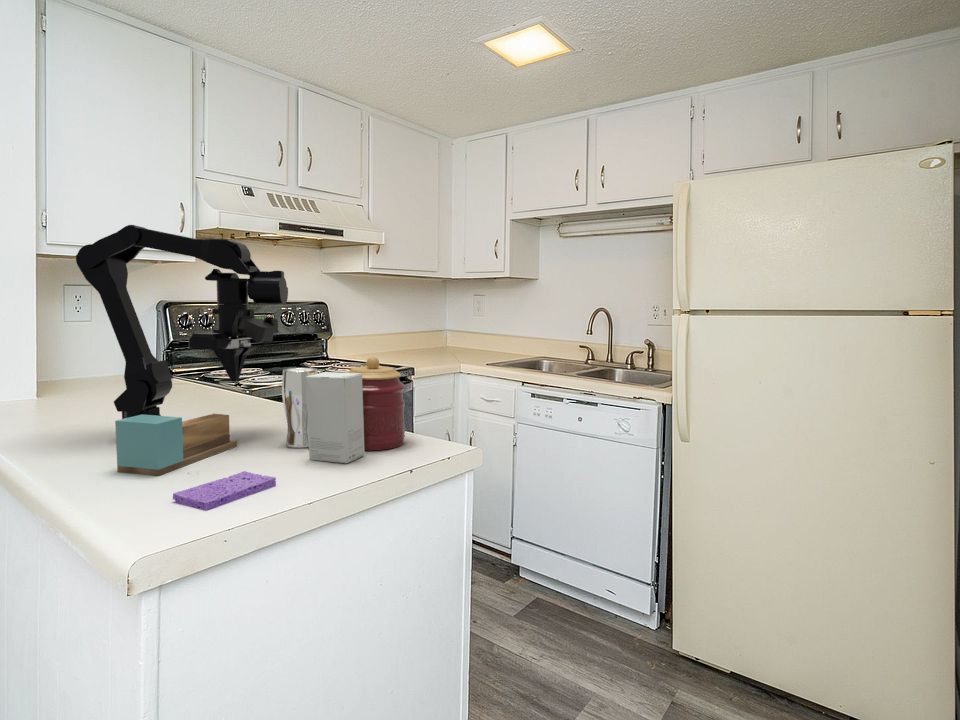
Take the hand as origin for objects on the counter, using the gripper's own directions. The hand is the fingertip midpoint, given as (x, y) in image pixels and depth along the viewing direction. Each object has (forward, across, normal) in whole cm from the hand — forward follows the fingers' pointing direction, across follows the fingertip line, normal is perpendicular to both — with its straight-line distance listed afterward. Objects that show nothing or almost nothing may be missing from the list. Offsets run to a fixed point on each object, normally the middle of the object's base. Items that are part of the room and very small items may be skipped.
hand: (234, 381), depth 117 cm
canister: (+12, +6, -28) cm, 31 cm away
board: (+12, -15, 0) cm, 19 cm away
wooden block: (+11, -12, 0) cm, 16 cm away
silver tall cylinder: (+12, 0, -15) cm, 19 cm away
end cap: (+11, -22, 0) cm, 25 cm away
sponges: (+13, -29, -20) cm, 37 cm away
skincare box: (+12, -6, -26) cm, 29 cm away
